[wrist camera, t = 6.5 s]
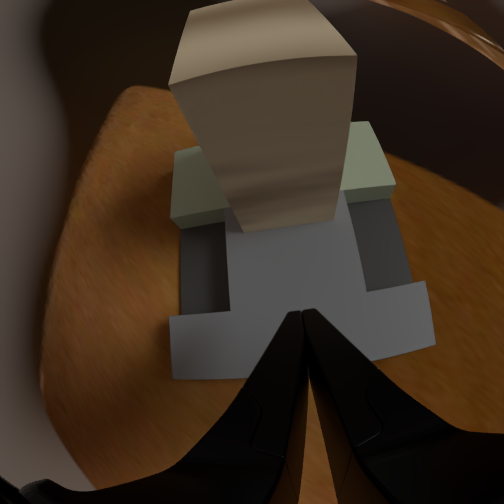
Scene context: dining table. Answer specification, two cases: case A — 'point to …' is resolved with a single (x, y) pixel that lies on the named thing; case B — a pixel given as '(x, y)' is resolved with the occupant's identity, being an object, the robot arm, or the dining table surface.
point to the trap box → (292, 270)
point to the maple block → (268, 107)
